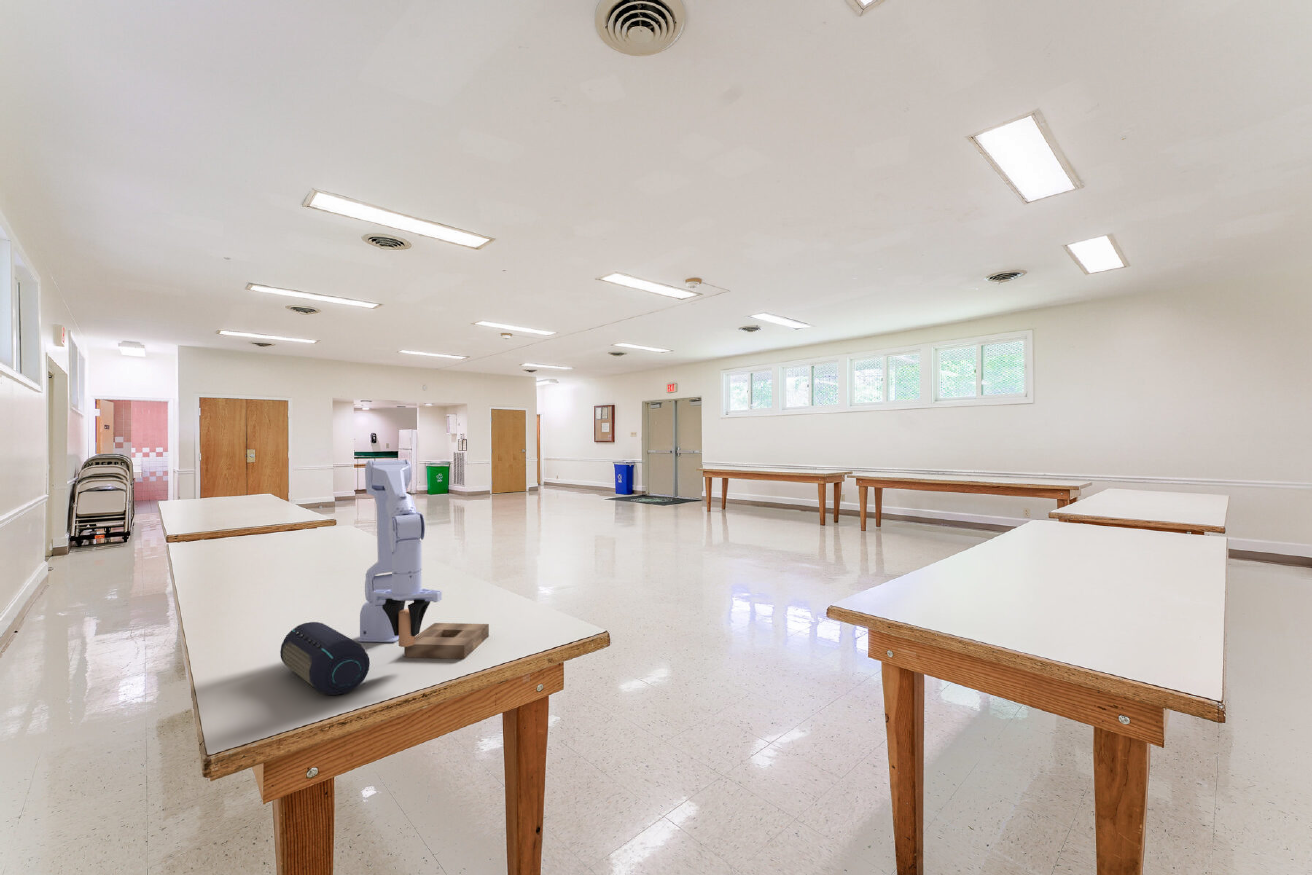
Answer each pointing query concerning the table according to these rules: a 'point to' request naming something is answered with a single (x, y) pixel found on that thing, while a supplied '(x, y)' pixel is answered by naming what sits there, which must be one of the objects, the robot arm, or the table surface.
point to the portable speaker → (325, 658)
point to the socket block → (447, 640)
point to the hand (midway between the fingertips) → (406, 634)
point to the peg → (405, 629)
